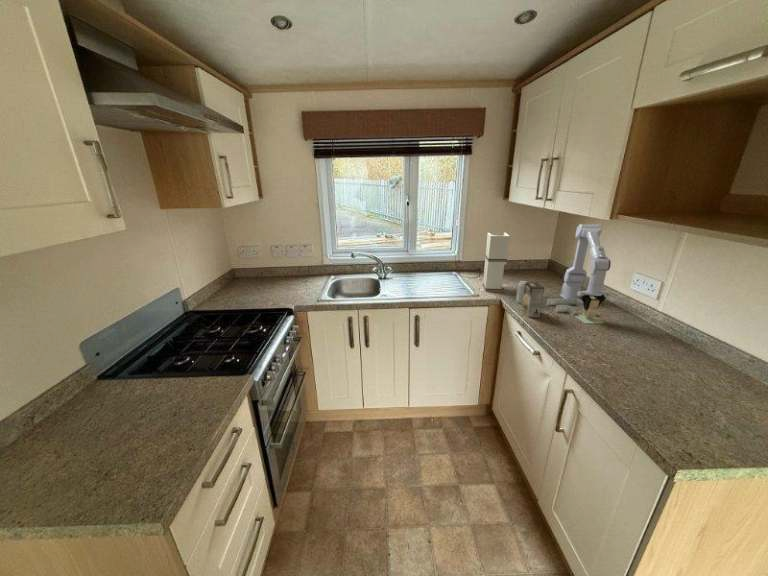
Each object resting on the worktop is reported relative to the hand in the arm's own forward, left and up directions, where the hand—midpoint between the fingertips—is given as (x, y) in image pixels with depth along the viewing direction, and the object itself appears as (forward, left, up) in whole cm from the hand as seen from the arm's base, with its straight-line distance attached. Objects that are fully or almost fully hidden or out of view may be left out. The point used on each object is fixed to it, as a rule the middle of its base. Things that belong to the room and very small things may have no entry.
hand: (590, 309), depth 149 cm
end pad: (+1, 0, -5) cm, 5 cm away
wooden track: (-12, -3, -5) cm, 13 cm away
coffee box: (-8, -25, -6) cm, 27 cm away
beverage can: (-23, -23, -6) cm, 33 cm away
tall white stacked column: (-46, -32, -6) cm, 56 cm away
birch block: (0, 0, -3) cm, 3 cm away
